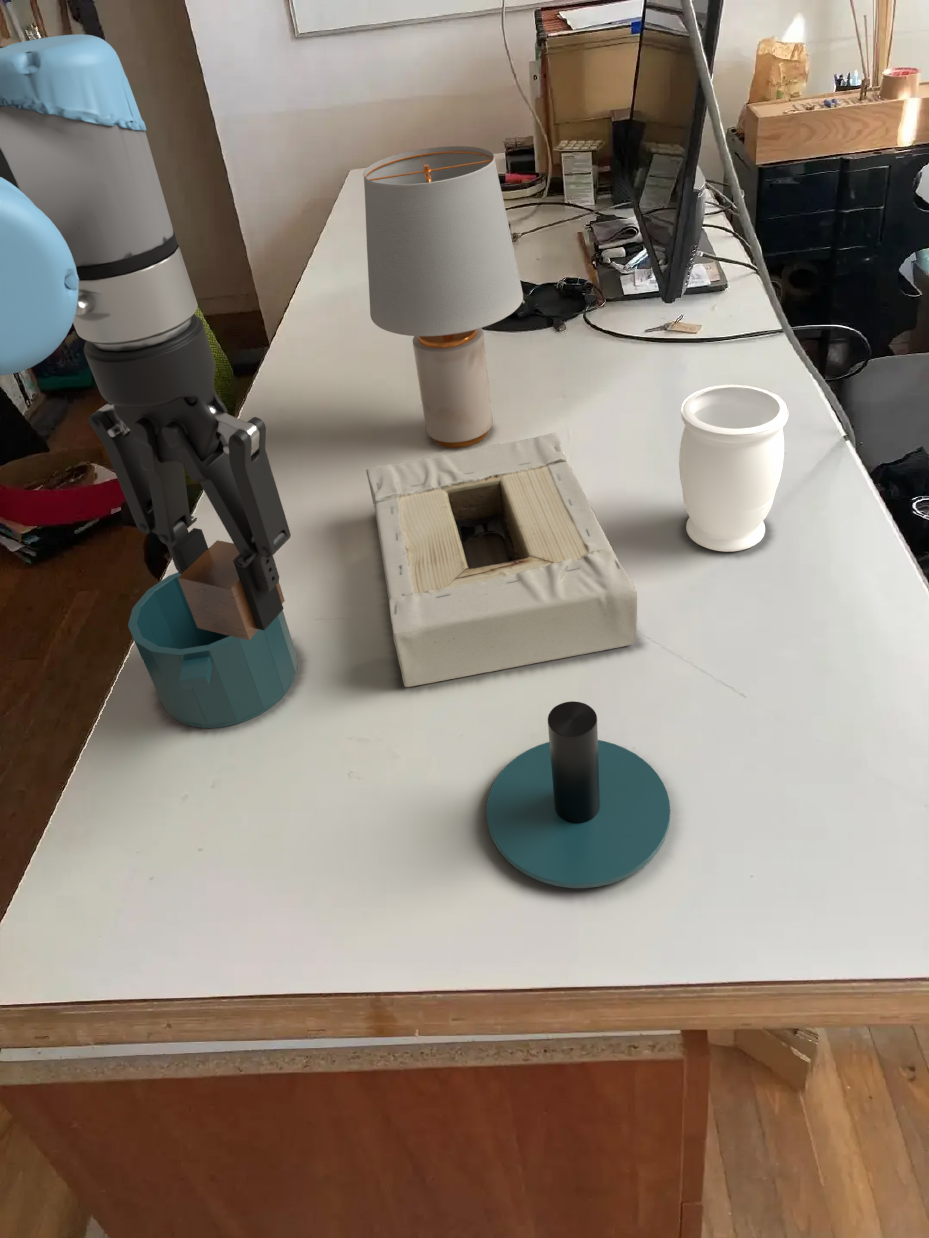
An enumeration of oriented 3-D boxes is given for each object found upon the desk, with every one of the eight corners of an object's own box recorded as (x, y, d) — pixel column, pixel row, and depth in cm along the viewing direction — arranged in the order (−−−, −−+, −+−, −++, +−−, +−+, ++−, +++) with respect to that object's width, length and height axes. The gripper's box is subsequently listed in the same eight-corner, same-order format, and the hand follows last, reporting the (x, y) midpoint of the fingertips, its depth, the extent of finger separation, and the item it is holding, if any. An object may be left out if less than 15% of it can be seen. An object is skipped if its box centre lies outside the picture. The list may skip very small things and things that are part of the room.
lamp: (545, 455, 119) (527, 172, 97) (399, 480, 118) (349, 201, 97) (518, 391, 134) (497, 133, 112) (388, 413, 133) (342, 157, 111)
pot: (147, 759, 85) (111, 685, 79) (175, 628, 100) (146, 557, 94) (294, 736, 85) (268, 660, 79) (300, 609, 100) (279, 536, 94)
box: (642, 646, 90) (559, 479, 114) (642, 584, 85) (555, 422, 109) (406, 698, 88) (373, 517, 113) (392, 638, 83) (360, 462, 108)
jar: (659, 519, 105) (662, 398, 96) (741, 495, 107) (751, 374, 98) (707, 569, 97) (715, 443, 88) (794, 543, 99) (811, 416, 90)
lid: (501, 907, 69) (486, 812, 62) (477, 761, 81) (463, 667, 73) (693, 876, 70) (700, 778, 62) (643, 735, 81) (644, 638, 74)
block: (197, 628, 72) (177, 577, 69) (234, 589, 76) (217, 539, 73) (249, 640, 71) (231, 589, 67) (285, 600, 74) (269, 550, 71)
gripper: (-6, 341, 59) (122, 619, 74) (220, 365, 52) (311, 666, 67) (76, 296, 64) (180, 565, 79) (292, 311, 57) (362, 603, 72)
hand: (240, 611), depth 73 cm, fingers closed on block, 5 cm apart
